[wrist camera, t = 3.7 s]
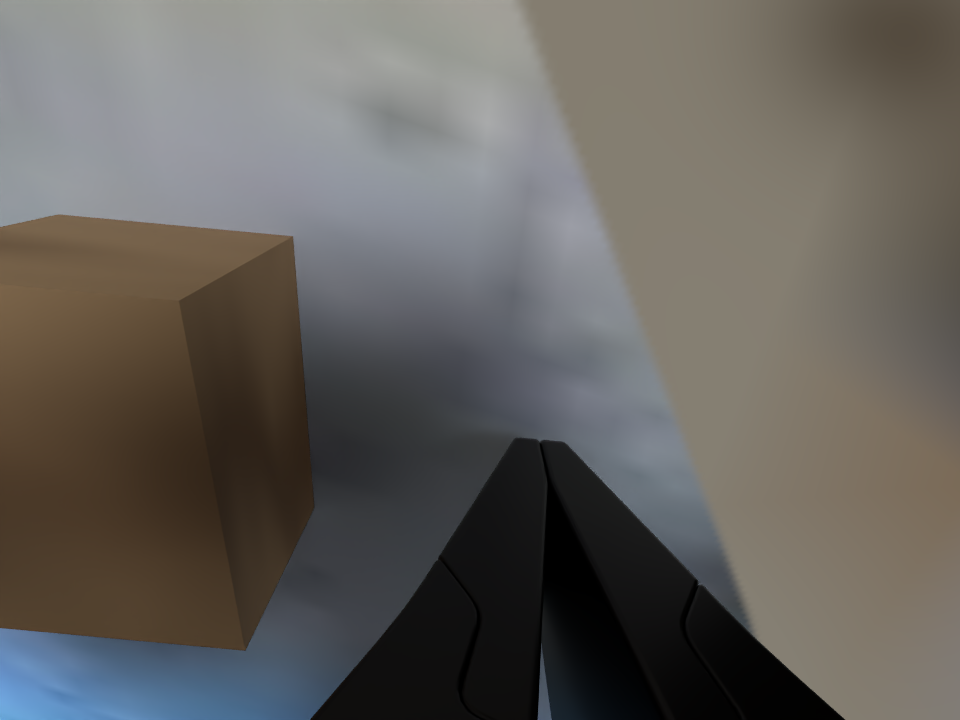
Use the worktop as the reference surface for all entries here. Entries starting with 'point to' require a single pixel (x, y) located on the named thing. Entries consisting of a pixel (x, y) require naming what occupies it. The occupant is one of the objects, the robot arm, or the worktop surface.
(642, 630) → the robot arm
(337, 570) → the worktop surface
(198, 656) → the worktop surface
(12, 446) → the cardboard brown box
